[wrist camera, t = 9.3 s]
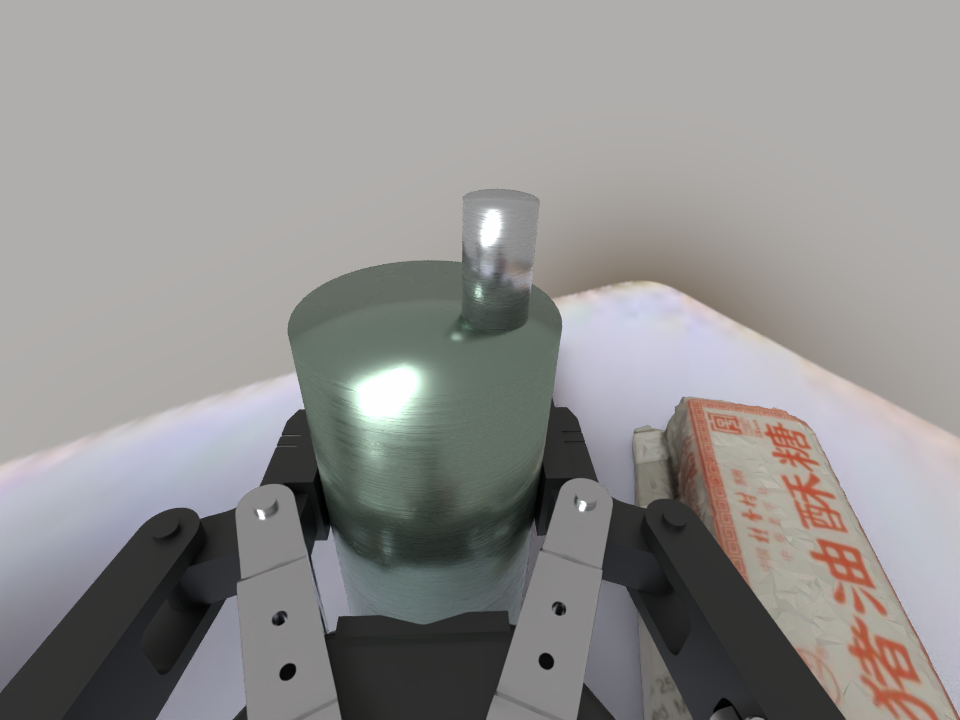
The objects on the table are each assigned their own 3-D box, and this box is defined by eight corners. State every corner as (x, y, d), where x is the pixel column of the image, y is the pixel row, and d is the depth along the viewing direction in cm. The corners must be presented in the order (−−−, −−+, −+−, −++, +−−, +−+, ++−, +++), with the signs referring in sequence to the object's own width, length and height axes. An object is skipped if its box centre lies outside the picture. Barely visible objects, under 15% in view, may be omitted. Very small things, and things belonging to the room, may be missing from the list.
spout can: (336, 701, 15) (190, 245, 6) (376, 540, 19) (320, 157, 11) (520, 712, 14) (605, 262, 6) (516, 547, 19) (562, 167, 11)
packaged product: (643, 377, 26) (843, 405, 25) (626, 441, 29) (805, 471, 27) (687, 792, 12) (1181, 931, 10) (644, 845, 15) (1029, 961, 13)
